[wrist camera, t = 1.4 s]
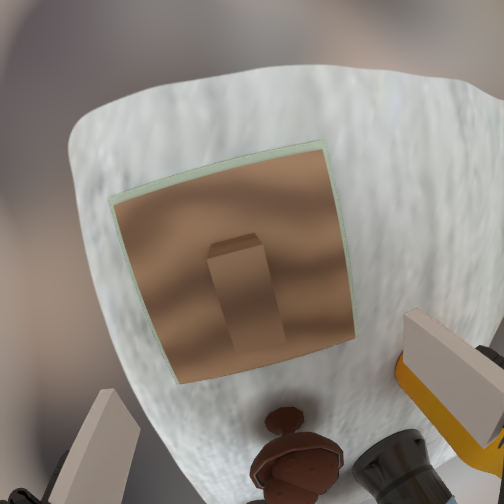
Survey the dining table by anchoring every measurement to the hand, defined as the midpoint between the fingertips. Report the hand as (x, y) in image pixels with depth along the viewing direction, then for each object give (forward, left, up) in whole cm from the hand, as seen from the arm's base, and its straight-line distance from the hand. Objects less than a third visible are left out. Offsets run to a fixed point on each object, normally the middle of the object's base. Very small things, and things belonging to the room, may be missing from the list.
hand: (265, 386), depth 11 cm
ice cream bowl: (-22, 0, -18) cm, 29 cm away
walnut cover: (0, 0, -17) cm, 17 cm away
